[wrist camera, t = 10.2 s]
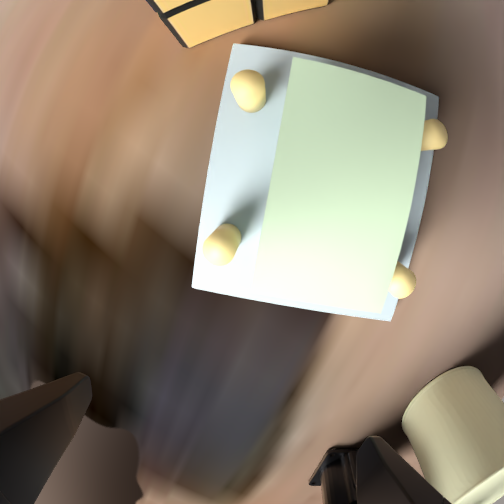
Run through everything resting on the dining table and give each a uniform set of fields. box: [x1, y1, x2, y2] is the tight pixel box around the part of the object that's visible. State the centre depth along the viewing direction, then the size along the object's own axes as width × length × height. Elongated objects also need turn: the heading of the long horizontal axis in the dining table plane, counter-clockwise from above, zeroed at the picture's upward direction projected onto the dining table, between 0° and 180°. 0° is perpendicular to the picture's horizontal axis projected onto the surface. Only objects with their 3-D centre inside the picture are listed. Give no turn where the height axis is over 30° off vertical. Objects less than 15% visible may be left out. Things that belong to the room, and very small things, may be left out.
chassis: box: [192, 44, 448, 321], centre depth 15 cm, size 15×13×4 cm
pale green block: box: [250, 57, 427, 314], centre depth 14 cm, size 10×6×5 cm, turn 170°
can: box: [402, 366, 504, 504], centre depth 15 cm, size 9×9×12 cm
